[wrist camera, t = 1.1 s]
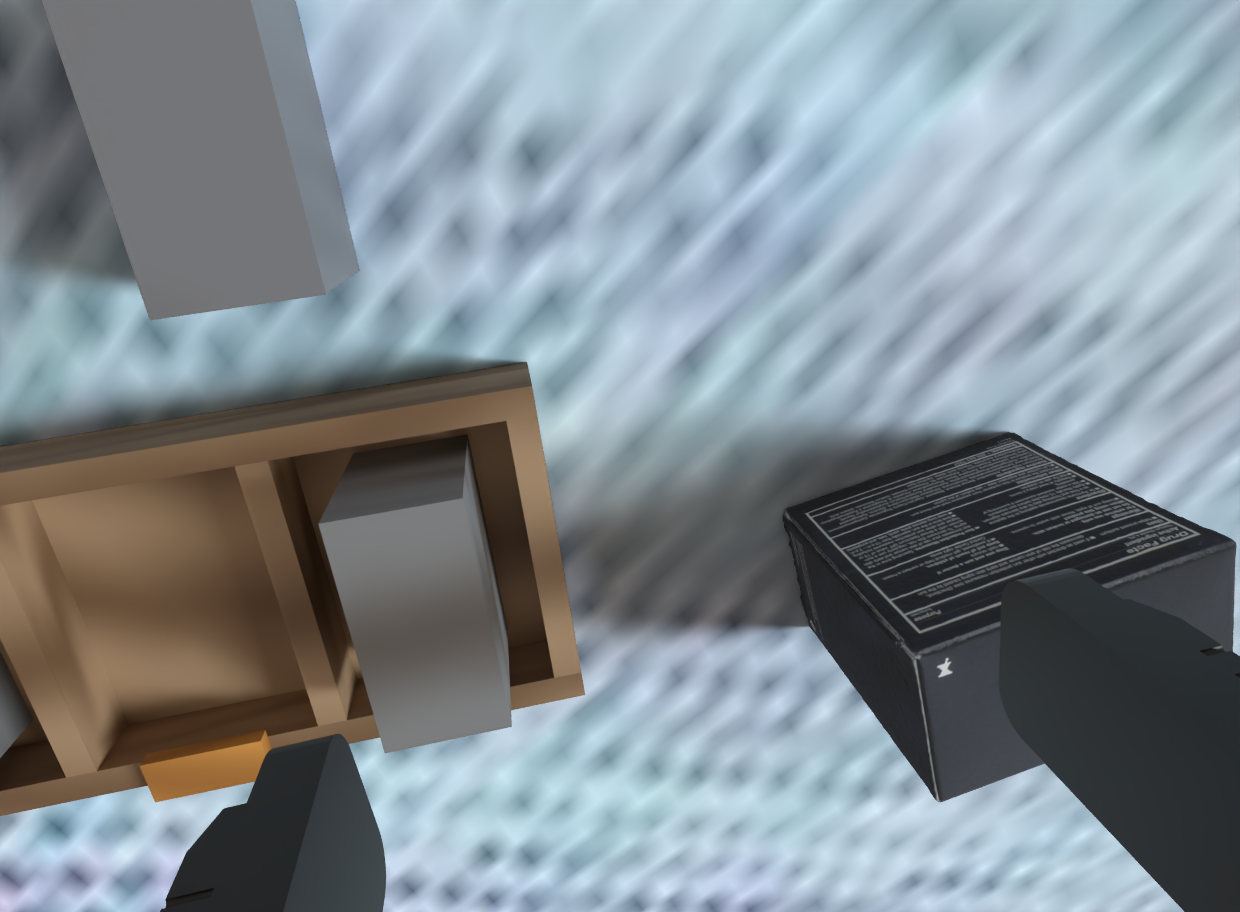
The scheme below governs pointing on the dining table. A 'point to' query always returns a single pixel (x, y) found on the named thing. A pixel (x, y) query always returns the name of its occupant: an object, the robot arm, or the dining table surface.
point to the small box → (981, 587)
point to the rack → (276, 586)
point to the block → (208, 148)
